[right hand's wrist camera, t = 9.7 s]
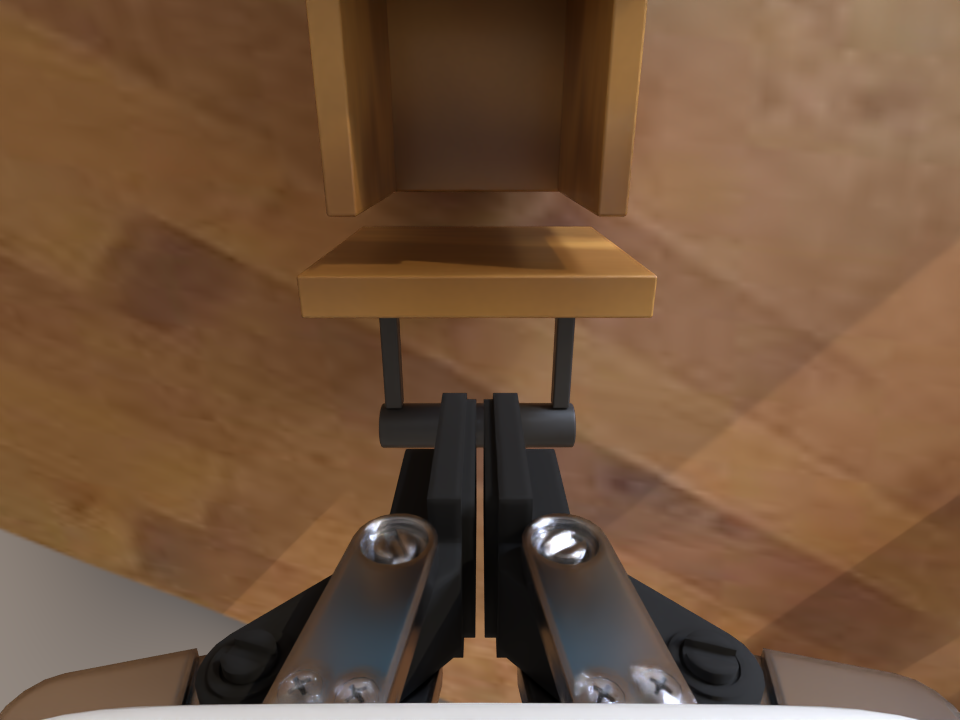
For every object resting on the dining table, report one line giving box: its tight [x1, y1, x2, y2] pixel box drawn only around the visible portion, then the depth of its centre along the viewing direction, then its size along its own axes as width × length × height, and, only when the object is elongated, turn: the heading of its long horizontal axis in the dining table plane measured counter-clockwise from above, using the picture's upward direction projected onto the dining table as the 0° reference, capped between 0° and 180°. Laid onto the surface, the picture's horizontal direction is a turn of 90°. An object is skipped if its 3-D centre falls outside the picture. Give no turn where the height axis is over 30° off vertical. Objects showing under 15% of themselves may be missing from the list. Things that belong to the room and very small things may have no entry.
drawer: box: [297, 0, 657, 448], centre depth 17 cm, size 23×10×9 cm, turn 0°
